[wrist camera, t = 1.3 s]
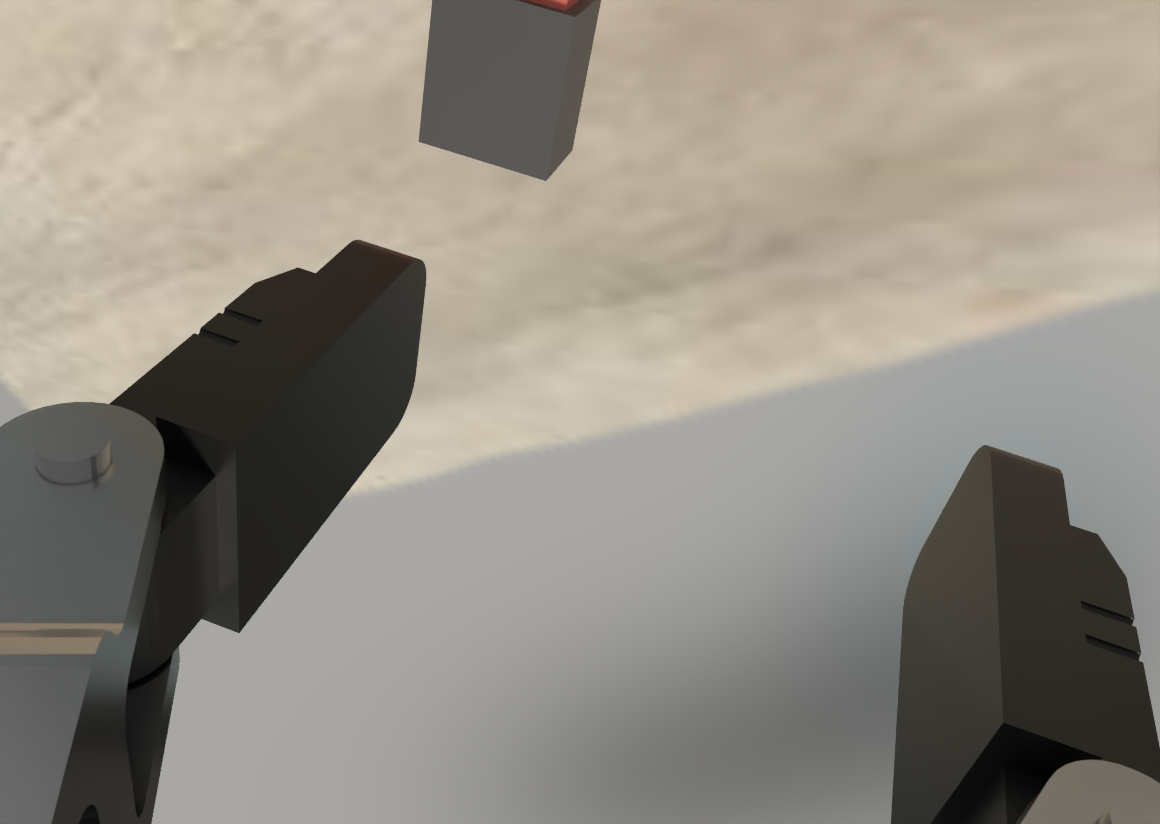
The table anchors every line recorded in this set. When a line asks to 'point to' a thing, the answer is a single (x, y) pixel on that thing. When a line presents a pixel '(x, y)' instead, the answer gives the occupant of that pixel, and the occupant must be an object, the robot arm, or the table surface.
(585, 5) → the lever
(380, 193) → the table surface
